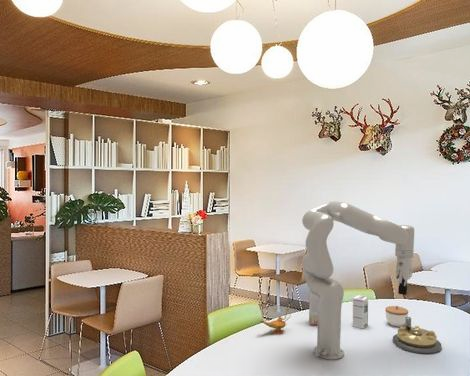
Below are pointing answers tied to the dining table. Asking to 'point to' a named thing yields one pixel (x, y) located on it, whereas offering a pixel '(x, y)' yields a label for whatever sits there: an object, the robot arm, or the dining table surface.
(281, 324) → the magic lamp
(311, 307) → the cracker box
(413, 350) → the base
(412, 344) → the gold dish
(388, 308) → the lidded jar
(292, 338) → the dining table surface
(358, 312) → the syrup box
